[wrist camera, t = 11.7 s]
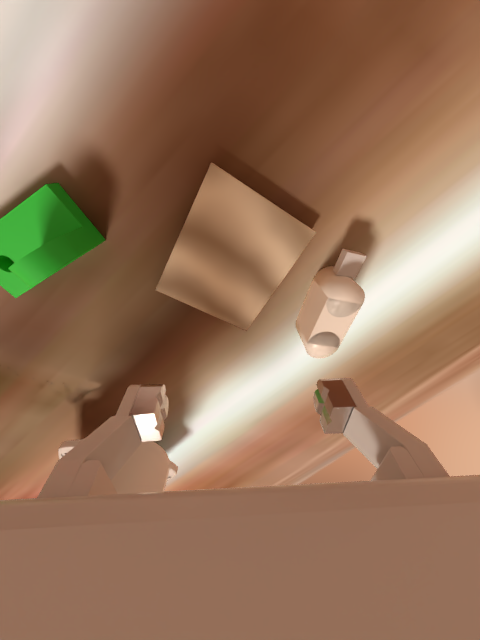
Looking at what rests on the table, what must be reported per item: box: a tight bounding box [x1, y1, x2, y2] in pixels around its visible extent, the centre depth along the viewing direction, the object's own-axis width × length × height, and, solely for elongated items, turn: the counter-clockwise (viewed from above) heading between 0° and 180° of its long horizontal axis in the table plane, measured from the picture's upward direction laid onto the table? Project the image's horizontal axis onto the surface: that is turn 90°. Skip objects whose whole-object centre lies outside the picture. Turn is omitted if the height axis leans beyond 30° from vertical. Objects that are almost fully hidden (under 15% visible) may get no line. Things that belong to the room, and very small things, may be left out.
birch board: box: [156, 162, 316, 331], centre depth 27 cm, size 14×12×2 cm
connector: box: [296, 249, 367, 358], centre depth 29 cm, size 12×4×5 cm, turn 167°
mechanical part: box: [0, 183, 105, 298], centre depth 22 cm, size 12×6×8 cm, turn 118°
